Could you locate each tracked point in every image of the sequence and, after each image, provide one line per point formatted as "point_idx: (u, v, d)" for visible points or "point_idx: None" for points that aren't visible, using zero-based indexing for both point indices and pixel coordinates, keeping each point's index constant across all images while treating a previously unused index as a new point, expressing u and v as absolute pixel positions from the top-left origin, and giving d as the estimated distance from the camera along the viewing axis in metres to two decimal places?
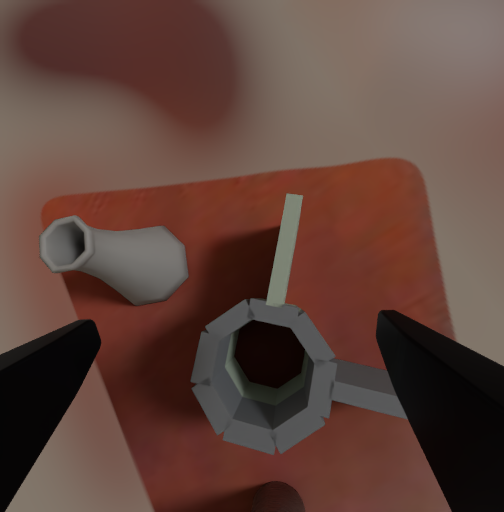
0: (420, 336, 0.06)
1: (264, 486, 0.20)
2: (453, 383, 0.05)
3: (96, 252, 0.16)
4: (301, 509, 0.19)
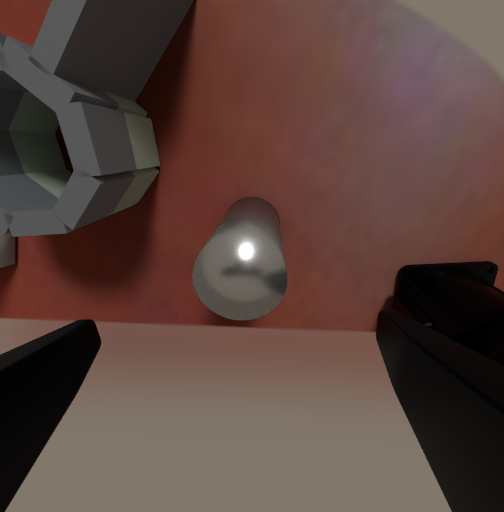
0: (420, 336, 0.06)
1: None
2: (453, 383, 0.05)
3: None
4: (249, 199, 0.18)
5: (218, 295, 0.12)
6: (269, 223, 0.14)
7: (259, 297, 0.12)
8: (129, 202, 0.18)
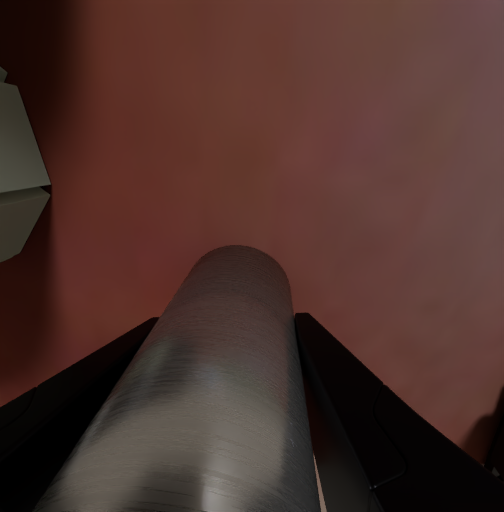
0: (312, 338, 0.06)
1: None
2: (318, 384, 0.05)
3: None
4: (228, 258, 0.08)
5: None
6: (270, 383, 0.04)
7: None
8: None
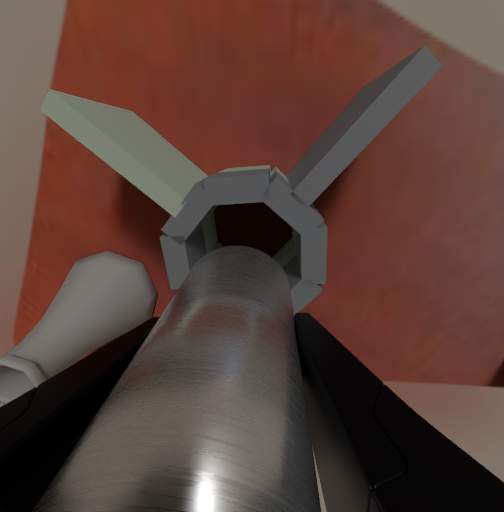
0: (312, 339, 0.06)
1: None
2: (318, 384, 0.05)
3: (37, 358, 0.14)
4: (228, 258, 0.08)
5: None
6: (270, 385, 0.04)
7: None
8: None
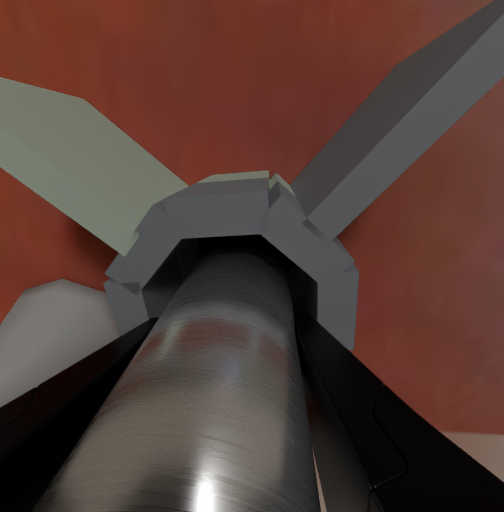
0: (312, 338, 0.06)
1: None
2: (318, 384, 0.05)
3: None
4: (228, 258, 0.08)
5: None
6: (270, 384, 0.04)
7: None
8: None
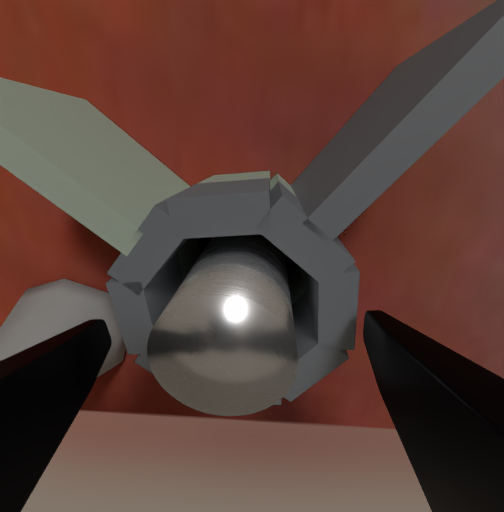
0: (403, 336, 0.06)
1: None
2: (431, 383, 0.05)
3: None
4: None
5: (189, 381, 0.07)
6: (270, 258, 0.10)
7: (254, 386, 0.07)
8: None
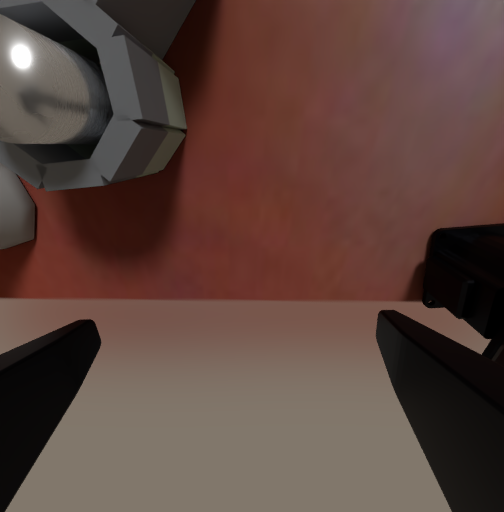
0: (420, 336, 0.06)
1: None
2: (453, 383, 0.05)
3: None
4: None
5: None
6: (81, 55, 0.12)
7: (29, 107, 0.10)
8: (157, 166, 0.17)
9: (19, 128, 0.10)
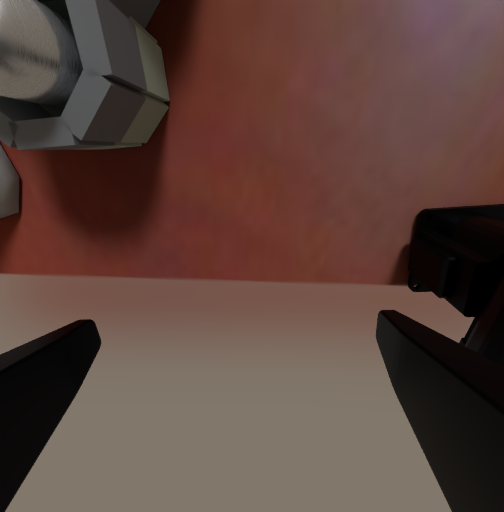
0: (420, 336, 0.06)
1: None
2: (453, 383, 0.05)
3: None
4: None
5: None
6: (54, 11, 0.12)
7: None
8: (138, 136, 0.17)
9: None
